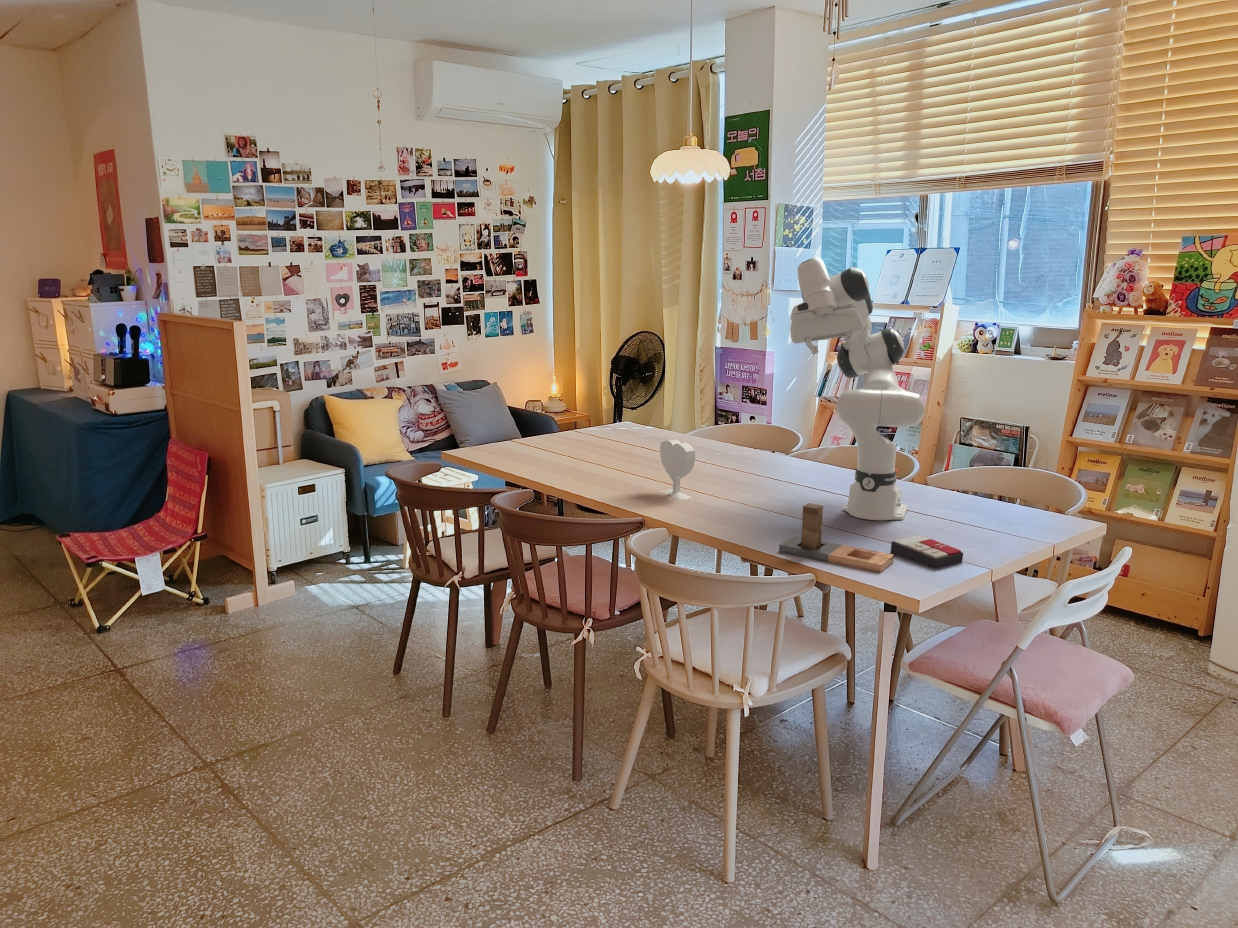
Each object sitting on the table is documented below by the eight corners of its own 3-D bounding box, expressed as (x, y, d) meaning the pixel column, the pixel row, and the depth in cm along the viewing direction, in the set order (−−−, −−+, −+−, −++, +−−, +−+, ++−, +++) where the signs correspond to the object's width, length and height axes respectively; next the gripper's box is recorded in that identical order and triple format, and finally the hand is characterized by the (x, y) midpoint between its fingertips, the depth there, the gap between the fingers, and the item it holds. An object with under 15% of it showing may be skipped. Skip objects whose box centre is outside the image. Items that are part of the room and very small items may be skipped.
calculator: (936, 556, 231) (891, 538, 244) (934, 572, 233) (889, 553, 245) (964, 550, 237) (918, 532, 249) (962, 565, 238) (916, 547, 250)
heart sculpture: (695, 498, 298) (697, 445, 294) (683, 500, 296) (684, 446, 292) (669, 488, 311) (670, 437, 307) (657, 490, 309) (658, 438, 305)
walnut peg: (806, 548, 248) (809, 502, 245) (820, 551, 245) (823, 505, 243) (800, 552, 244) (803, 506, 242) (814, 555, 242) (817, 508, 239)
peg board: (794, 542, 253) (794, 535, 252) (893, 561, 237) (894, 554, 237) (778, 551, 245) (779, 544, 244) (880, 572, 229) (881, 564, 229)
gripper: (855, 309, 263) (866, 351, 257) (785, 319, 262) (795, 361, 257) (859, 297, 257) (870, 340, 252) (787, 308, 257) (798, 350, 252)
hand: (831, 351), depth 254 cm, fingers open, 8 cm apart
